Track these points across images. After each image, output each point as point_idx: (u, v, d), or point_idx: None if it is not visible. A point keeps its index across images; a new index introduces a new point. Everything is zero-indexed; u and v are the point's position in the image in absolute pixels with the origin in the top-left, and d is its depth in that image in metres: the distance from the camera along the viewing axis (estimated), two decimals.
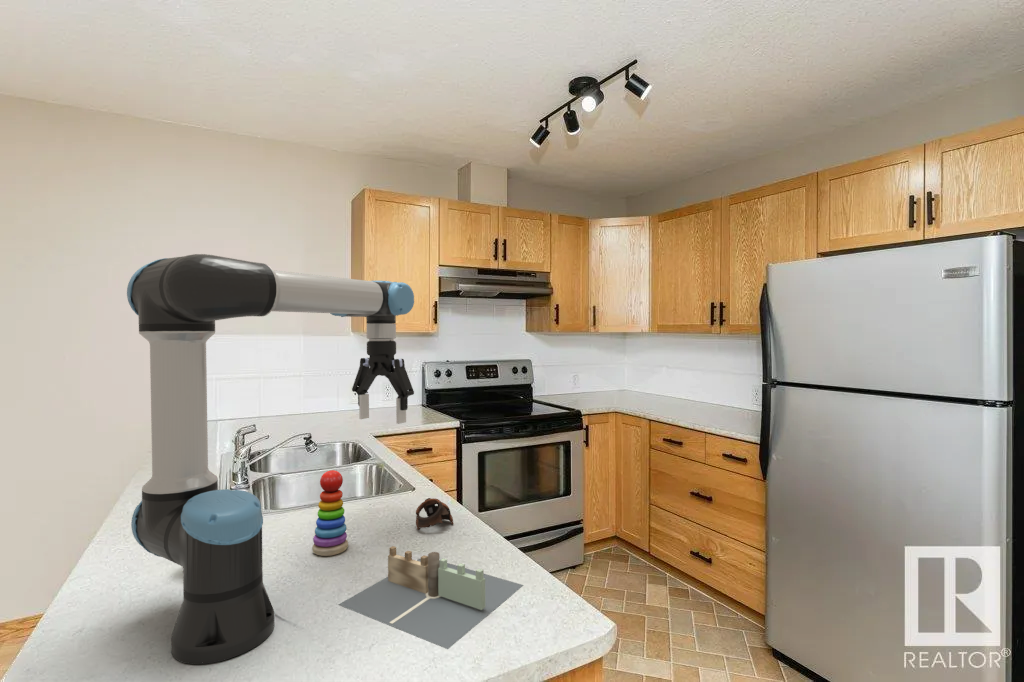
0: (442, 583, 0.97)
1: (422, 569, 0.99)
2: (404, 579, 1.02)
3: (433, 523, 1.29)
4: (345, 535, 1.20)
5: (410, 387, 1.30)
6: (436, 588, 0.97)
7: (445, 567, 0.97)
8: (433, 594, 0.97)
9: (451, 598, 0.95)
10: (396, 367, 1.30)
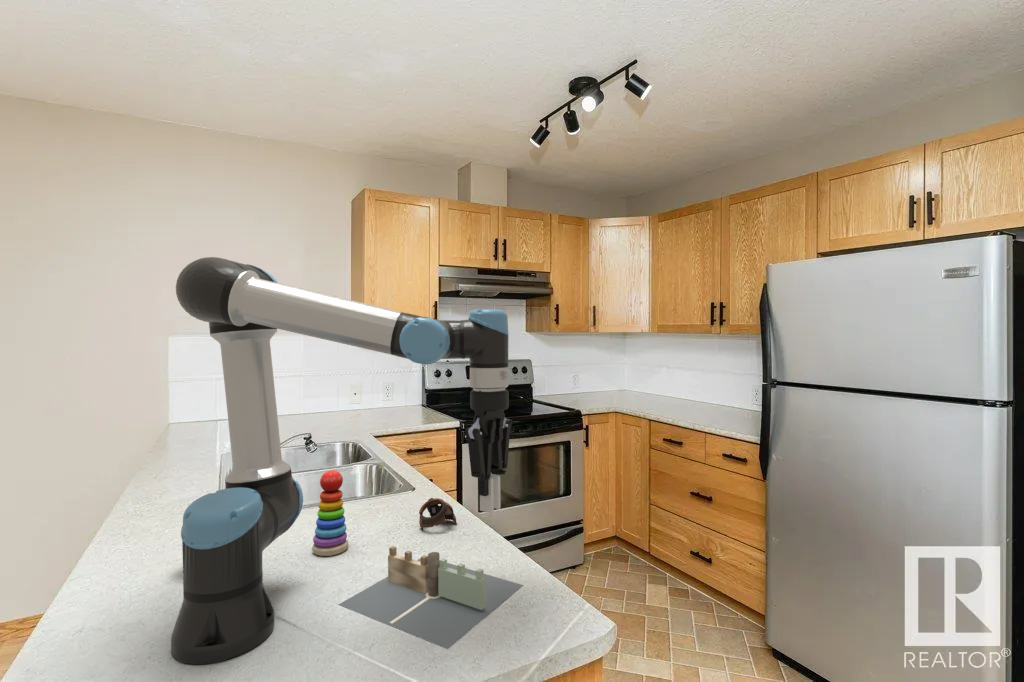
0: (442, 583, 0.97)
1: (422, 569, 0.99)
2: (404, 579, 1.02)
3: (437, 523, 1.30)
4: (345, 535, 1.20)
5: (478, 469, 0.95)
6: (436, 588, 0.97)
7: (445, 567, 0.97)
8: (433, 594, 0.97)
9: (451, 598, 0.95)
10: None
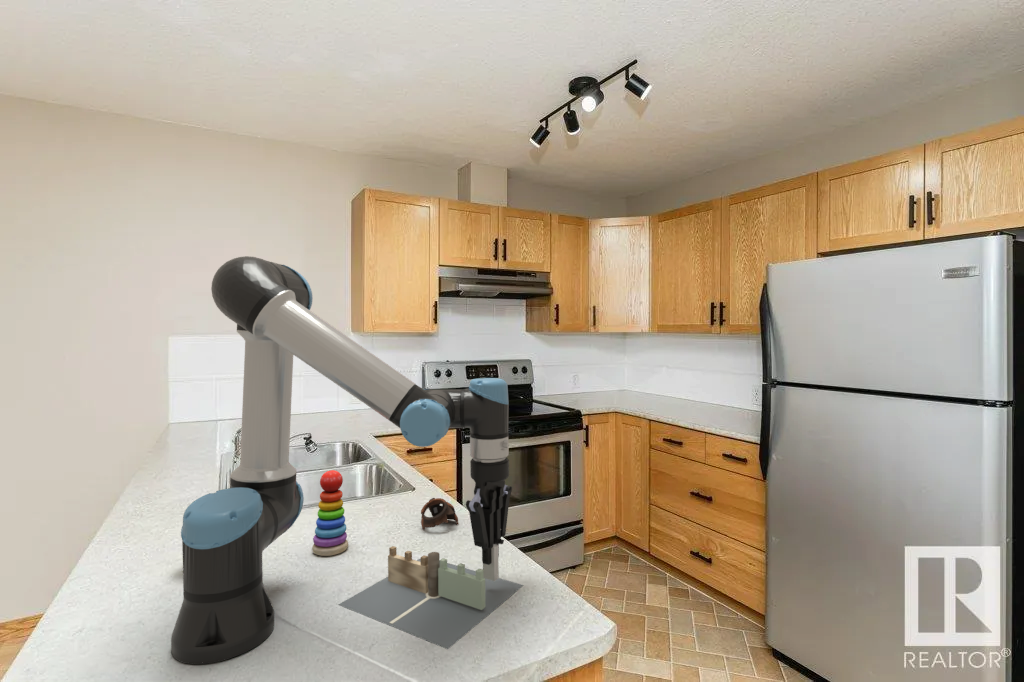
0: (442, 583, 0.97)
1: (422, 569, 0.99)
2: (404, 579, 1.02)
3: (439, 523, 1.30)
4: (345, 535, 1.20)
5: (481, 540, 0.96)
6: (436, 588, 0.97)
7: (445, 567, 0.97)
8: (433, 594, 0.97)
9: (451, 598, 0.95)
10: None
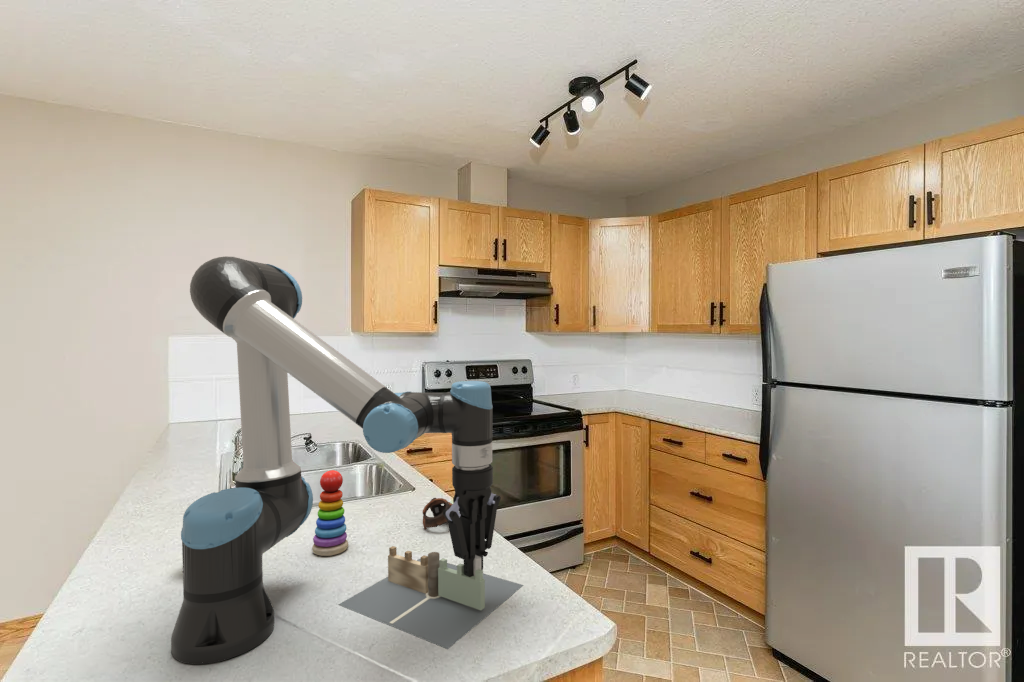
0: (442, 583, 0.96)
1: (422, 569, 0.99)
2: (404, 579, 1.02)
3: (440, 523, 1.30)
4: (345, 535, 1.20)
5: (459, 551, 0.92)
6: (436, 588, 0.97)
7: (445, 567, 0.97)
8: (433, 594, 0.97)
9: (451, 598, 0.95)
10: None
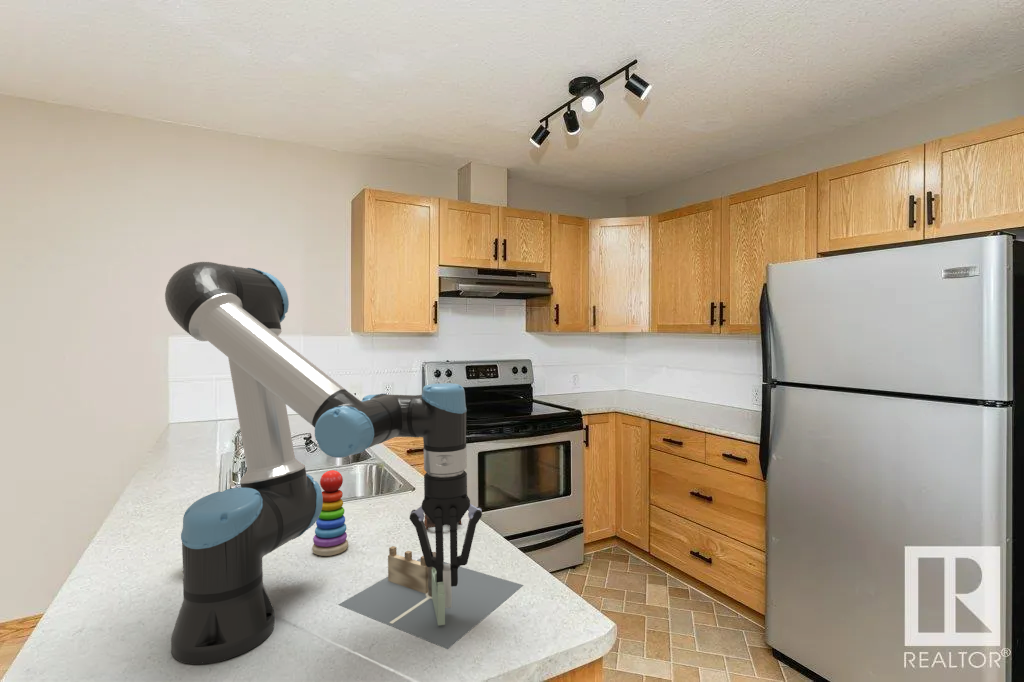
0: (432, 585, 0.96)
1: (422, 569, 0.99)
2: (404, 579, 1.02)
3: None
4: (345, 535, 1.20)
5: None
6: None
7: (435, 570, 0.96)
8: None
9: (433, 603, 0.94)
10: None
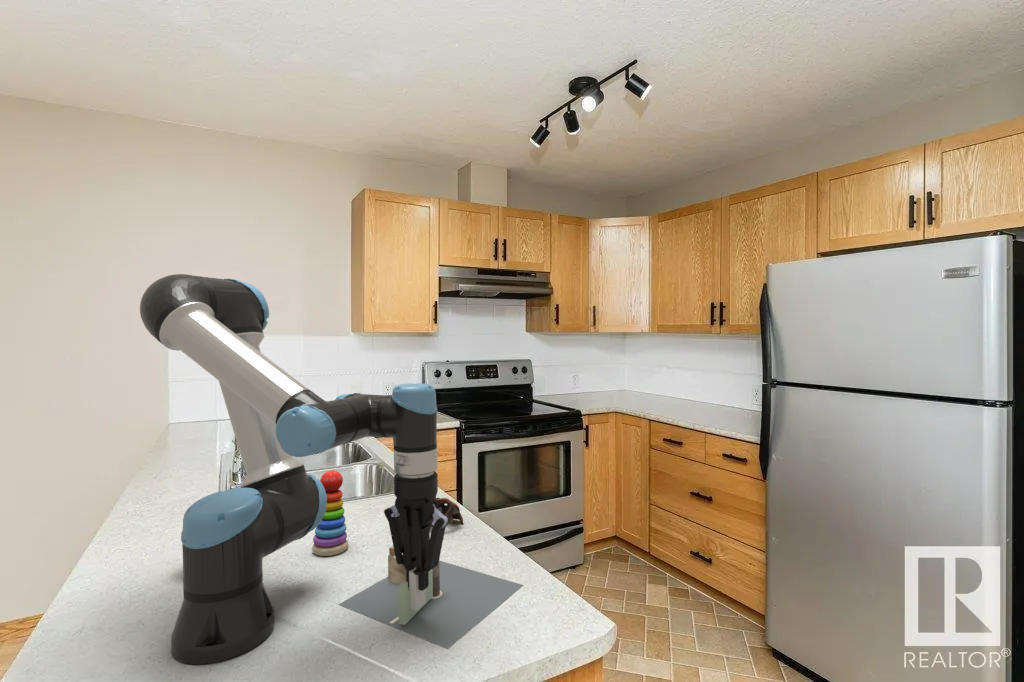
0: None
1: None
2: (404, 579, 1.02)
3: None
4: (345, 535, 1.20)
5: None
6: (436, 588, 0.97)
7: None
8: (433, 594, 0.97)
9: None
10: None
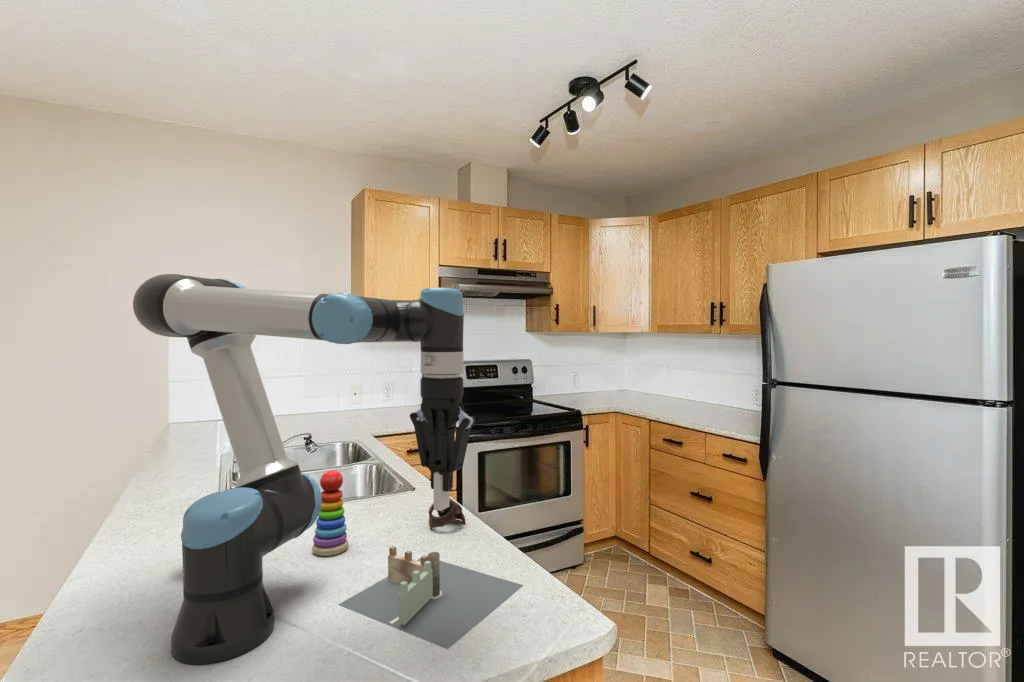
0: None
1: (422, 569, 0.99)
2: (404, 579, 1.02)
3: (447, 522, 1.30)
4: (345, 535, 1.20)
5: None
6: (436, 588, 0.97)
7: (426, 570, 0.96)
8: (433, 594, 0.97)
9: None
10: None
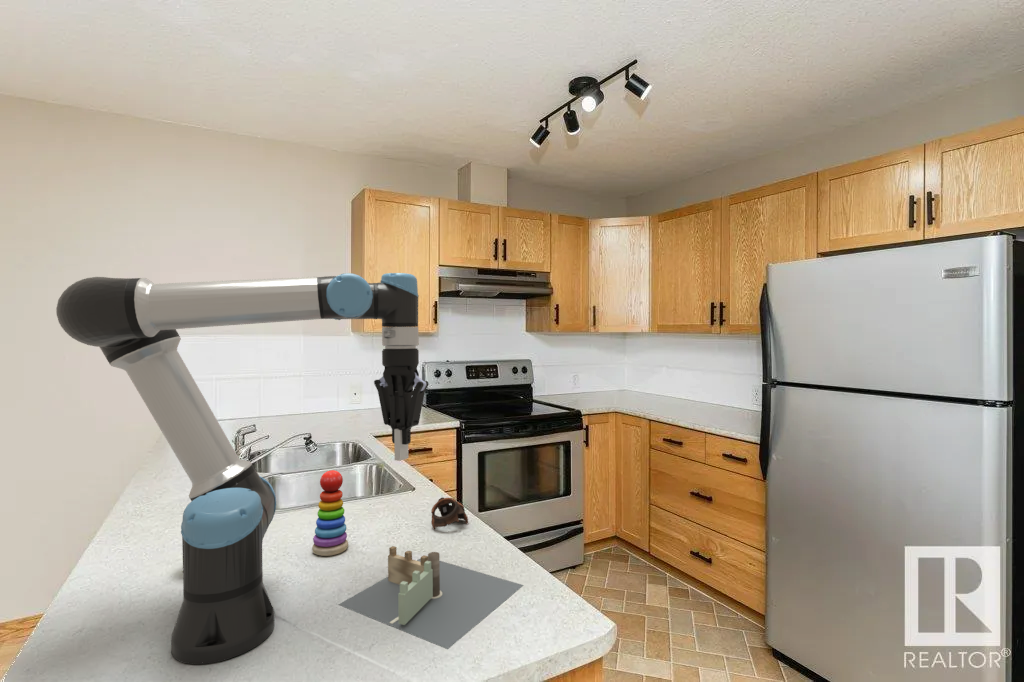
0: None
1: (422, 569, 0.99)
2: (404, 579, 1.02)
3: (450, 522, 1.30)
4: (345, 535, 1.20)
5: None
6: (436, 588, 0.97)
7: (426, 570, 0.96)
8: (433, 594, 0.97)
9: None
10: None
